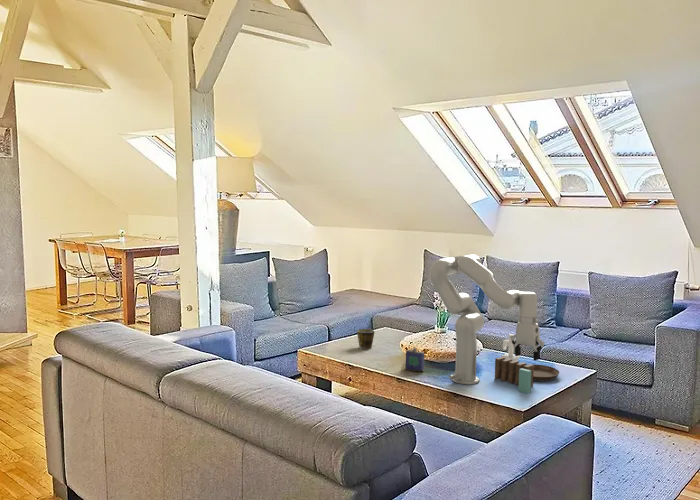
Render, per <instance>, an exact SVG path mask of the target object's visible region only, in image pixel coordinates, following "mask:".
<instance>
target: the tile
mask: <svg viewBox="0 0 700 500" xmlns="http://www.w3.org/2000/svg"><path fill="white" fill-rule="evenodd" d="M531 389H532V387H531V371H530V370H527V369H523V368H521V369H519V386H518V392H522V393H525V394H530V393H531V392H532V391H531Z"/></svg>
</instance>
